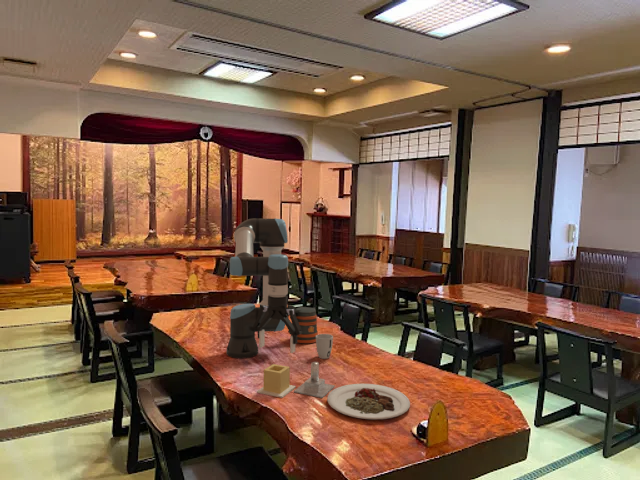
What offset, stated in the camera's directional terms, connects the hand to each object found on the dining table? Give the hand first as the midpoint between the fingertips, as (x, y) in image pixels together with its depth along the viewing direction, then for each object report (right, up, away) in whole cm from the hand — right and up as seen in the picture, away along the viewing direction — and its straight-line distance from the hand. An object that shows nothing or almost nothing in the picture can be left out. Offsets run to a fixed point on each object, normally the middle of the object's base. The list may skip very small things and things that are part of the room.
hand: (277, 349), depth 182 cm
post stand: (+14, -16, +2) cm, 22 cm away
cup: (+18, -13, +41) cm, 47 cm away
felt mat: (0, -16, +1) cm, 16 cm away
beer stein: (+7, -11, +66) cm, 67 cm away
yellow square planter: (0, -16, +1) cm, 16 cm away
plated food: (+34, -18, -10) cm, 40 cm away
